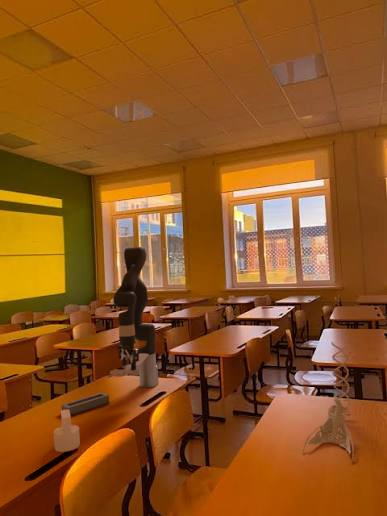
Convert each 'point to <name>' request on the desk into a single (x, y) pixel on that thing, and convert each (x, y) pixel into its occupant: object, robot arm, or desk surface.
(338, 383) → the dna model
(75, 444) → the cylinder with rectangular tab
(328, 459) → the desk surface
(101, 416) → the desk surface
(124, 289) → the robot arm
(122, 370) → the mobile phone
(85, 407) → the pen tray
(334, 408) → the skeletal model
